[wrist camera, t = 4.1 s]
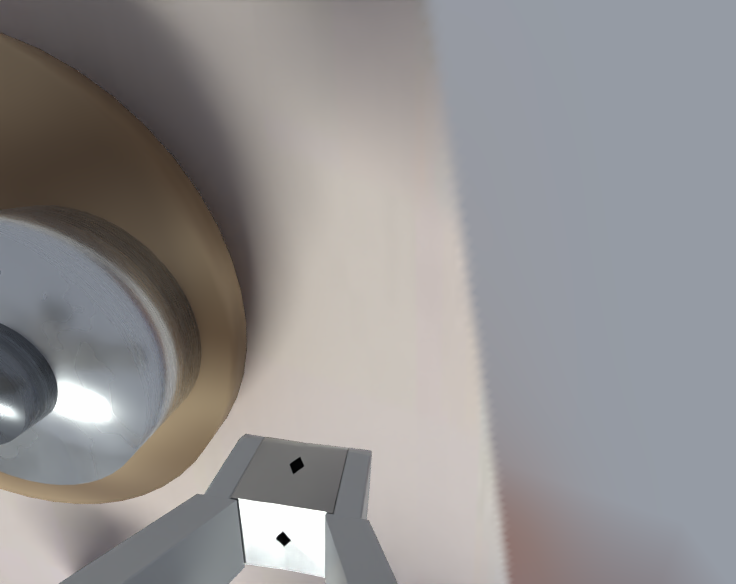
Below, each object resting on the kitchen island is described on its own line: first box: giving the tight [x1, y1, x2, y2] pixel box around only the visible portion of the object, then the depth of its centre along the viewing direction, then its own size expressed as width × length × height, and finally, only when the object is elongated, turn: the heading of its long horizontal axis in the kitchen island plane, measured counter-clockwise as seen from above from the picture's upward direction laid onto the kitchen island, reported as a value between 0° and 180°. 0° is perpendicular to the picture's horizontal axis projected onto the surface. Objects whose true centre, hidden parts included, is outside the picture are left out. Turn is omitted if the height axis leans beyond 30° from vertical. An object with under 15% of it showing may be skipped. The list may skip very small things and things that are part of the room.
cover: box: [0, 205, 202, 485], centre depth 11 cm, size 9×9×4 cm
